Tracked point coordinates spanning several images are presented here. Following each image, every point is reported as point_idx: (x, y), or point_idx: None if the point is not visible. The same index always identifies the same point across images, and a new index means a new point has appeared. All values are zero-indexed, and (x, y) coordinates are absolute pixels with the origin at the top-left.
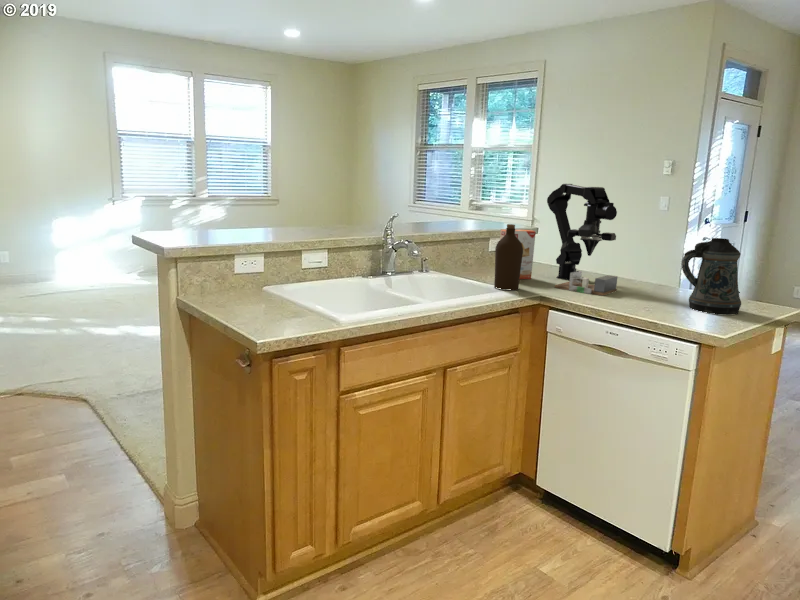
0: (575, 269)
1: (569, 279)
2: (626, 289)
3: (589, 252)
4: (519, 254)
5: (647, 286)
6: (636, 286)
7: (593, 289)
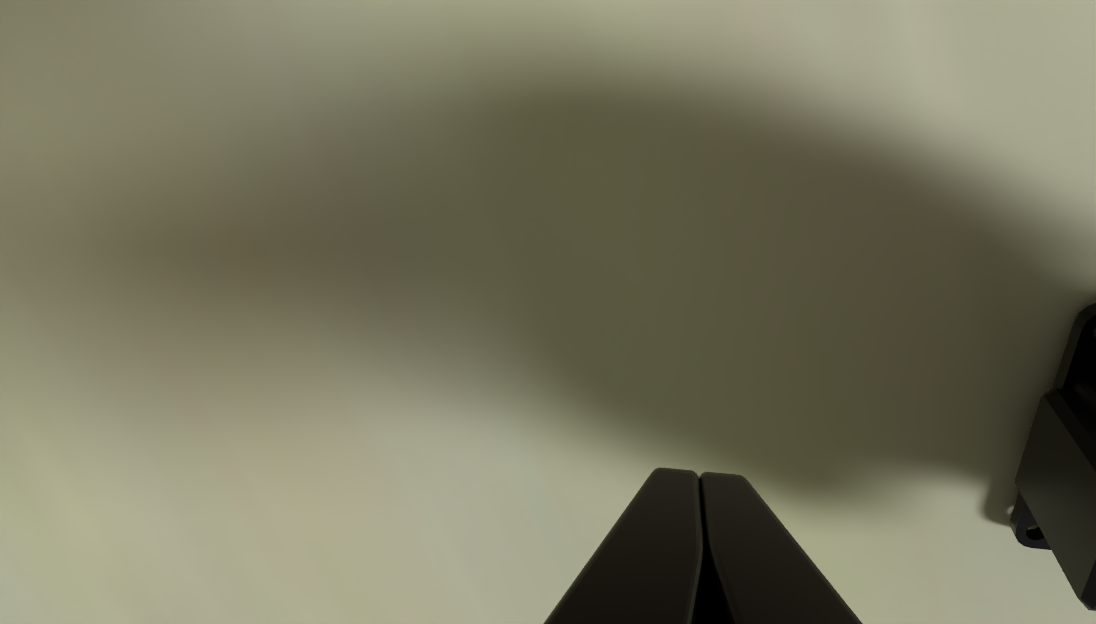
0: (1087, 561)
1: (1092, 307)
2: (5, 195)
3: (671, 539)
4: None
5: (18, 618)
6: (85, 530)
7: None
